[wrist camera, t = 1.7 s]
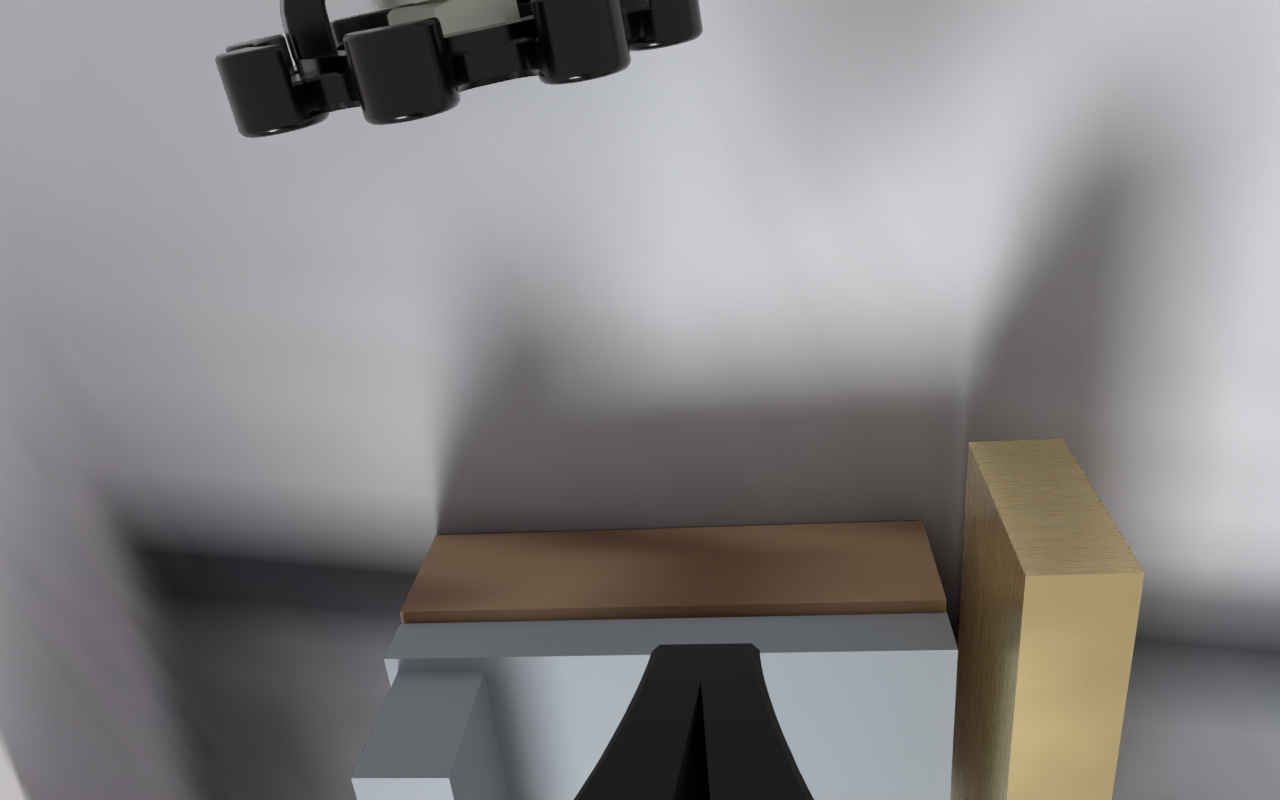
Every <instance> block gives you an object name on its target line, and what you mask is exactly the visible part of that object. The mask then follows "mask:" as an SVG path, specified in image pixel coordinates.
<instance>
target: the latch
mask: <svg viewBox="0 0 1280 800" xmlns="http://www.w3.org/2000/svg"><path fill="white" fill-rule="evenodd" d="M1143 580H1144V571H1143V570H1142V568H1141V566H1140V565H1139V563H1138V561H1137V560H1136V558H1135V556H1134V555H1133V553H1132V551H1131V550H1130V548H1129V546H1128V545H1127V543H1126V541H1125V540H1124V538H1123V536H1122V535H1121V533H1120V532H1119V530H1118V528H1117V527H1116V525H1115V523H1114V522H1113V520H1112V518H1111V517H1110V515H1109V513H1108V512H1107V510H1106V508H1105V507H1104V505H1103V503H1102V502H1101V500H1100V498H1099V497H1098V495H1097V494H1096V492H1095V490H1094V489H1093V487H1092V485H1091V484H1090V482H1089V480H1088V479H1087V477H1086V475H1085V474H1084V472H1083V470H1082V469H1081V467H1080V465H1079V464H1078V462H1077V460H1076V459H1075V457H1074V456H1073V454H1072V452H1071V451H1070V449H1069V447H1068V446H1067V444H1066V442H1065V441H1064V439H1063V438H1060V439H1034V440H1008V441H982V442H969V443H968V462H967V481H966V500H965V519H964V538H963V558H962V577H961V596H960V615H959V634H958V660H957V679H956V698H955V717H954V736H953V755H952V773H951V792H950V800H1112V795H1113V788H1114V781H1115V774H1116V767H1117V760H1118V753H1119V746H1120V739H1121V732H1122V726H1123V719H1124V712H1125V705H1126V698H1127V691H1128V684H1129V677H1130V670H1131V663H1132V656H1133V649H1134V643H1135V636H1136V629H1137V622H1138V615H1139V608H1140V601H1141V594H1142V587H1143Z"/></svg>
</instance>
